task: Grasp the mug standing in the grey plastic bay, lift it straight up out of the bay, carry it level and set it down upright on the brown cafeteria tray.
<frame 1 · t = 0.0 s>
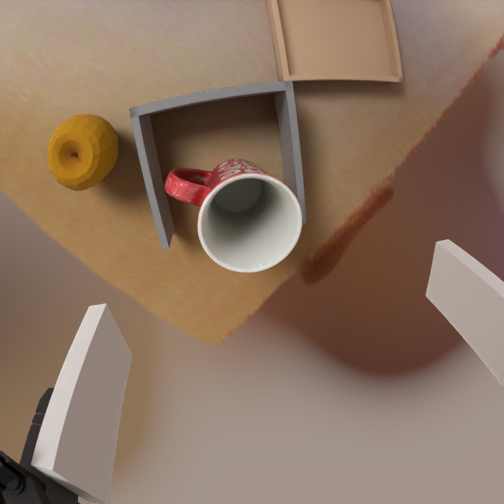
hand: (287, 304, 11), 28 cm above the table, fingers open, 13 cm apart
apple: (98, 146, 32), on the table
bay: (224, 180, 36), on the table
mug: (224, 179, 36), on the table
tray: (333, 30, 28), on the table
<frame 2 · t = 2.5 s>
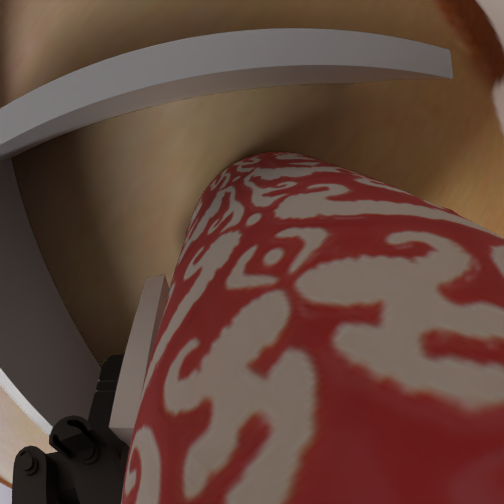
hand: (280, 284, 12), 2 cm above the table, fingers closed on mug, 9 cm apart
bay: (255, 264, 13), on the table
mug: (254, 263, 14), on the table, touching gripper
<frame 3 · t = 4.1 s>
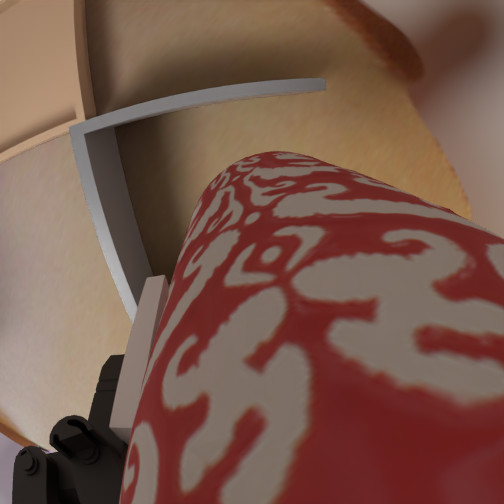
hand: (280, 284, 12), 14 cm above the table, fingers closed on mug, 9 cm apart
bay: (250, 190, 24), on the table
mug: (253, 262, 14), point 12 cm above the table, touching gripper
tray: (21, 67, 16), on the table
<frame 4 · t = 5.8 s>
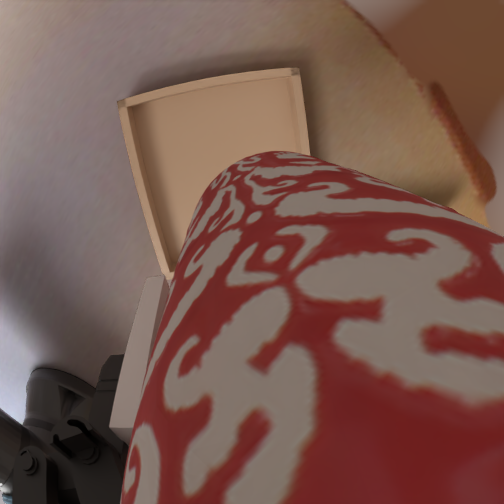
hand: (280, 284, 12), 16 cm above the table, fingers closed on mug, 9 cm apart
mug: (254, 262, 14), point 14 cm above the table, touching gripper
tray: (223, 171, 25), on the table
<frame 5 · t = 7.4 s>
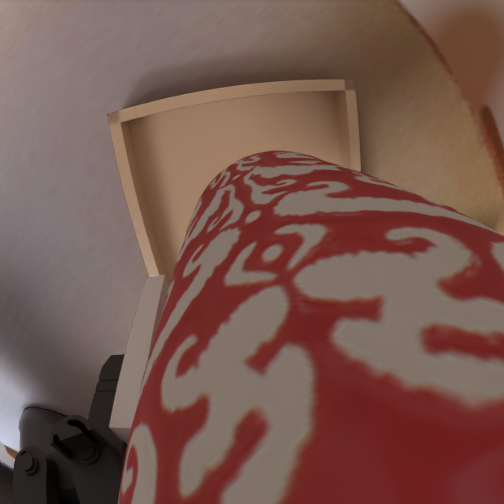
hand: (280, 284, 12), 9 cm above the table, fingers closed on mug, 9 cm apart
mug: (254, 262, 14), point 7 cm above the table, touching gripper
tray: (247, 209, 20), on the table
when the fingers open (4 cm above the table, at t = 8.9 s): mug drops 1 cm, resting on tray.
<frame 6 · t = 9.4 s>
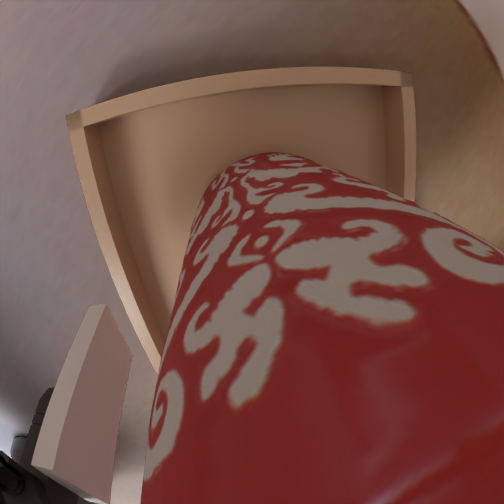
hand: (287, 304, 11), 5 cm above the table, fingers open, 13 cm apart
mug: (253, 254, 15), point 1 cm above the table, touching tray
tray: (264, 243, 15), on the table
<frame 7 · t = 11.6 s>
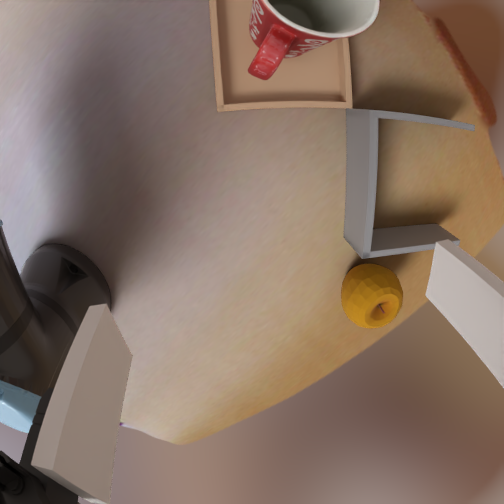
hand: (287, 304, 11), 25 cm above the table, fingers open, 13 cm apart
apple: (358, 276, 41), on the table
bay: (417, 174, 35), on the table
mug: (273, 40, 26), point 1 cm above the table, touching tray
tray: (278, 40, 26), on the table
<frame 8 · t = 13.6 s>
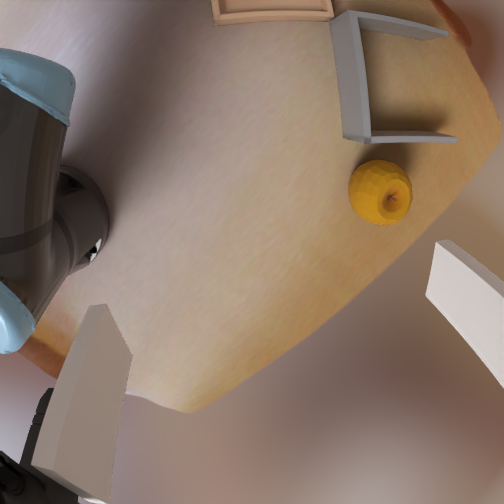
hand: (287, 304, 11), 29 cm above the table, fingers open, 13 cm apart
apple: (363, 182, 40), on the table
bay: (404, 81, 33), on the table
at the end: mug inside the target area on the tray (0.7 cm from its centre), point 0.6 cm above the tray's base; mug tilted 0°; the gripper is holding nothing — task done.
